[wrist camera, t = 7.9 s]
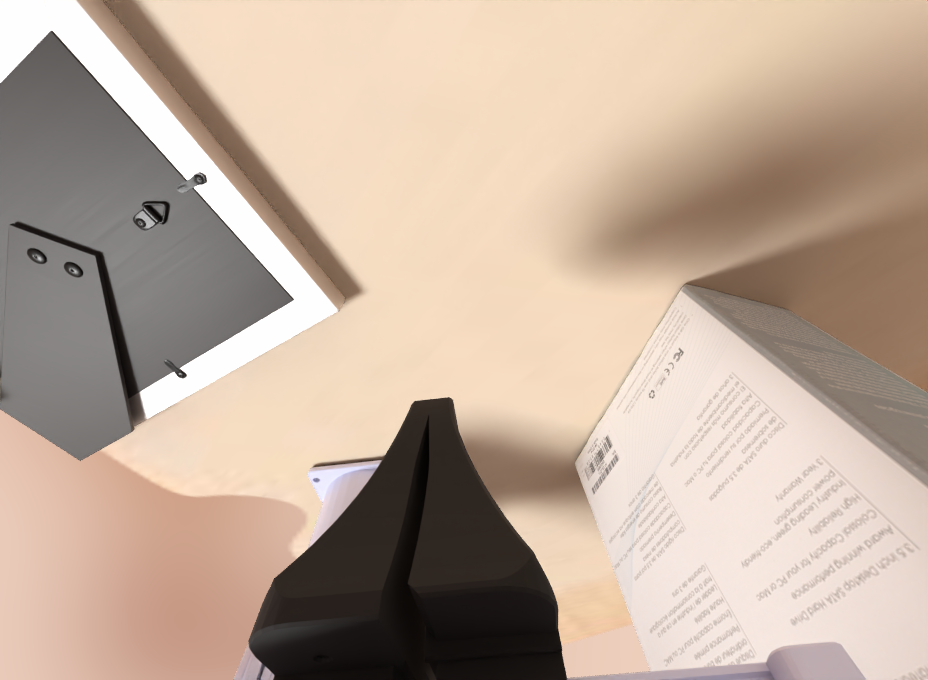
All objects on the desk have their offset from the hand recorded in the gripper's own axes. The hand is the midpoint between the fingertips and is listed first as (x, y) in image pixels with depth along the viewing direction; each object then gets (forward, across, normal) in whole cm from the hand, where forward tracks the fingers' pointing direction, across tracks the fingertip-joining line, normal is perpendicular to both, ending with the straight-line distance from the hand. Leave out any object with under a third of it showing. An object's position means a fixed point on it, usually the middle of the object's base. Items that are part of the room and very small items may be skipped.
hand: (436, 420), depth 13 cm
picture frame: (+10, +18, -4) cm, 21 cm away
